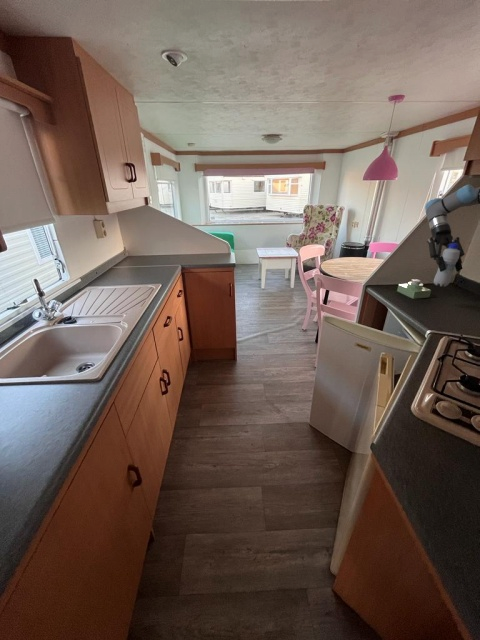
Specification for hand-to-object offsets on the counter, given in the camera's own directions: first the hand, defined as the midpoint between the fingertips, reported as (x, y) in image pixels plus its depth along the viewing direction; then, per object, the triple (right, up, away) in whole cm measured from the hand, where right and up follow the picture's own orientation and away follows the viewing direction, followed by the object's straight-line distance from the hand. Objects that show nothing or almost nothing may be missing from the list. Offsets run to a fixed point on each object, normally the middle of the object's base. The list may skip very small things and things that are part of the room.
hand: (451, 270), depth 122 cm
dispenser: (-2, -9, +24) cm, 26 cm away
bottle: (0, -6, +7) cm, 9 cm away
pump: (-2, -4, +22) cm, 22 cm away
